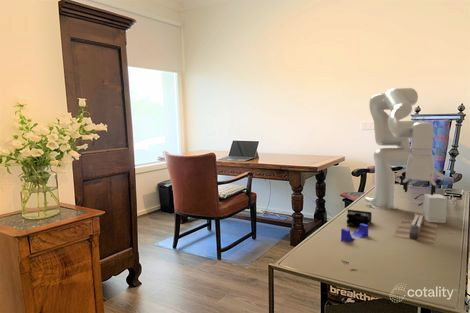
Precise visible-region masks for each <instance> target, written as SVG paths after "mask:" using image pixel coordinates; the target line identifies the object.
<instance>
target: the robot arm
mask: <svg viewBox="0 0 470 313" xmlns="http://www.w3.org/2000/svg"><path fill="white" fill-rule="evenodd" d="M418 98H419V96H418V91H416V90H415V89H414V88H412V87H404V88H403V87H401V88H399V87H395V88H391V89H388V90H387V91H386V92H384V93H376V94H374V95H372V96H371V97H370V99H369V105H368V106H369V111H370V115H371V117H372V120H373V128H374V138H375V143H376V144H377V146H382V147H383V146H384V147H383V148H377V149H376V150H375V151H374V152H373V162H374V189H373V190H374V194H373V197H372V198H371V197H365V202H367V203H370V208H373V209H377V210H384V211H386V210H387V211H389V210H391V209H393V210H394V209H396V210H397V208H398V206H397V205H396V204H394V202H395V200H394V199H395V181H396V180H395V178H396V177H395V173H394V171H393V170H392V168H391V167H405V168H403V169H399V170H398V171H396V174H397V176H398V177H399V180H401V181H402V183H403V184H402V185H403V186H402V187H403V188H402V189H403V191H404V193H407V192H408V189H409V188H408V187H409V182H408V181H409V180H412V181H414V180H415V181H423V182H430V183H431V186H430V187H431V188H430V194H431V195H433V194H436V187H437V185H438V184H440V183H441V182H442V181H443V180H444V178H445V174H444V173H441V172H439V171H437V170H435V157H434V155H433V141H434V131H435V130H434V129H435V128H434V127H435V126H434V125H435V124H434V123H432V122H428V121H427V122H426V121H423V120H403V119H405V118H407V117H409V116H410V115H411V113H412V111H413V106H414V105H416V104H417V102H418V100H419V99H418ZM388 110H389V111H390V113H389V114H388V112H386V111H388ZM410 139H411V147H410ZM393 146H394V147H393ZM395 146H396V147H395ZM403 173H405V176H403V175H402V174H403ZM435 175H436V176H437V177H438V178H437V180H435V179H434V177H435Z"/></svg>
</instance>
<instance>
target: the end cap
mask: <svg viewBox="0 0 470 313" xmlns="http://www.w3.org/2000/svg"><path fill="white" fill-rule="evenodd" d="M372 216H373V215H372V211H365V210H356V209H349V208H348V209H347V214H346V218H347V219H346V227H347V228H348V227H349V228H354V229H359V227H360V224H362V223H363V224H366V225H368V226H369V225H370V224H372V218H373V217H372Z"/></svg>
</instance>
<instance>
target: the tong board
mask: <svg viewBox="0 0 470 313" xmlns="http://www.w3.org/2000/svg"><path fill="white" fill-rule="evenodd" d="M412 222H413V220H409V219H404V218H403V219H401V221H400V222H399V225H398V227H397V229H396V230H395V231H394V235H393V237H396V238H401V239H407V240H410V241H411V240H413V241H418V242H424V243H429V244H435V239H436V235H437V231H438V226H439V225H438V224H434V223H430V222H424V224H422V227H421V230H420V233H419V236H418V226H417V225H411V224H412Z"/></svg>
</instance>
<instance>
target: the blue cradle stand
mask: <svg viewBox="0 0 470 313" xmlns="http://www.w3.org/2000/svg"><path fill="white" fill-rule="evenodd" d="M340 233H341V236H340V237H341V238H340V242H341V243H343V242H346V243H348V242H353V241H355V240H356V238H358V239H363V238H365V237H368V236H369V225H366V224H363V223H362V224H360V227H359V228H357V229H355V230H353V232H352V233H351V230H350V229H348V228H341V230H340ZM352 236H353V237H356V238H353V237H352Z"/></svg>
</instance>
